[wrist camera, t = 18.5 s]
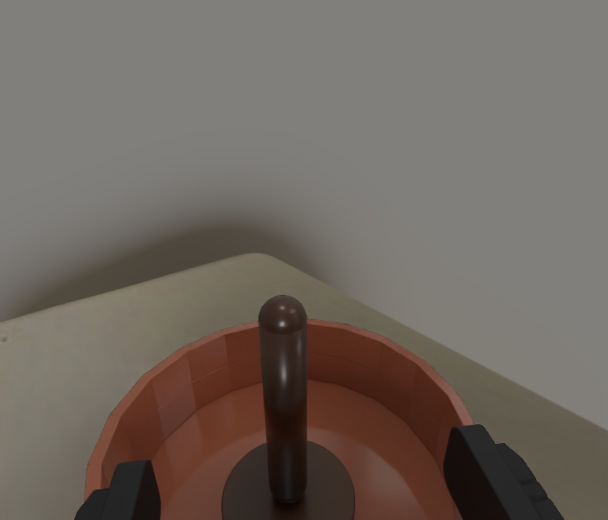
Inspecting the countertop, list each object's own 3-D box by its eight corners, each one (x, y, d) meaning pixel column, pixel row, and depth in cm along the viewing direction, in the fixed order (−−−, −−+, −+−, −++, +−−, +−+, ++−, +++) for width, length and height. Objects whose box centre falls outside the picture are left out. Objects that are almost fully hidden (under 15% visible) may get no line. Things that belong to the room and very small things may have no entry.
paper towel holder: (332, 442, 24) (340, 252, 18) (373, 562, 18) (403, 340, 12) (220, 465, 22) (192, 268, 17) (227, 601, 17) (187, 373, 11)
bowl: (356, 357, 31) (360, 296, 29) (555, 608, 17) (597, 530, 15) (114, 427, 26) (94, 359, 23) (112, 895, 11) (58, 847, 9)
